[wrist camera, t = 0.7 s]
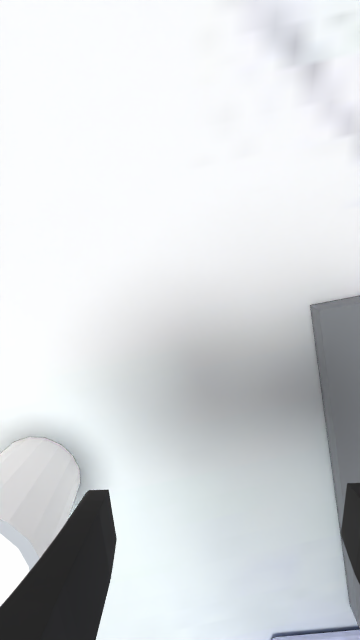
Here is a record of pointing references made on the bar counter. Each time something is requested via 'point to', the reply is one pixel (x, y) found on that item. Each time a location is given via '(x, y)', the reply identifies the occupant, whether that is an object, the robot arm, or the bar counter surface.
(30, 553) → the white cylinder
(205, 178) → the bar counter surface
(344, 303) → the pin board
